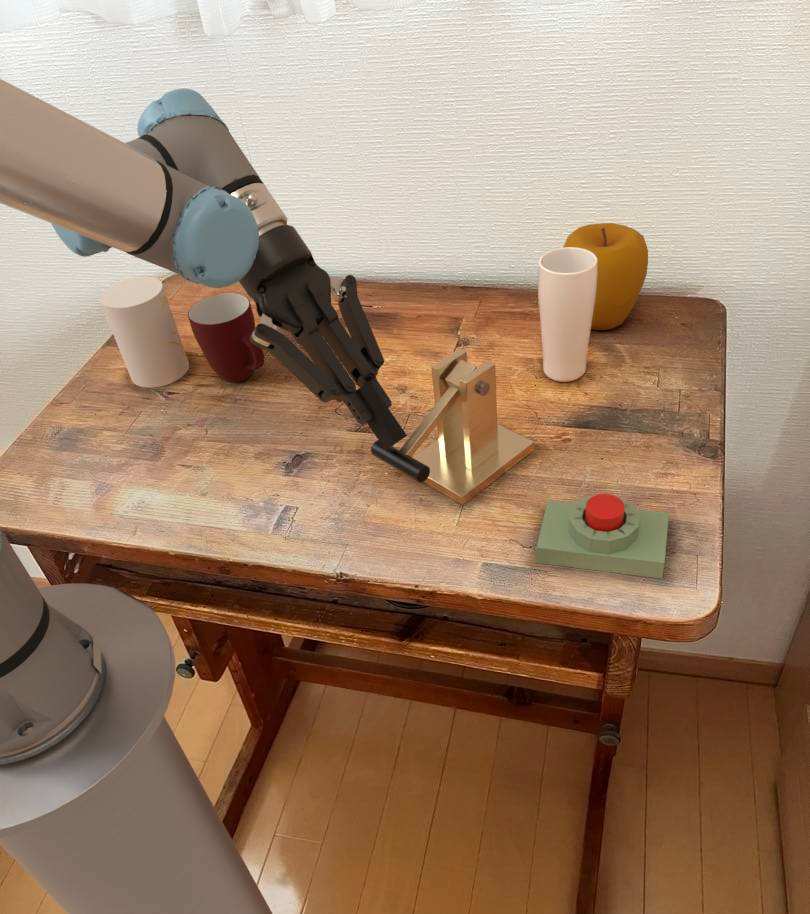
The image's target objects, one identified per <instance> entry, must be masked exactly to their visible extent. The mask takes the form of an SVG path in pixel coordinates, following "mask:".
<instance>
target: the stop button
mask: <svg viewBox="0 0 810 914" xmlns="http://www.w3.org/2000/svg"><path fill="white" fill-rule="evenodd" d="M597 494H598V495H596V494H594V495H595V496H593V497H591V498H590V499H589V500H588V501H587V503H586V514H585V520H586V523H587V525H588V526H589V527H590V528H592V529H594V530H596V531H604V532H610V531H614V530H617V529H618V528H620V527H621V525H622V524H623V519H624V510H625V505H624V503H623V501H622V500H621V499H620V498H618V497H617V496H618V495H617V496H614V495H615V494H610V493H597Z"/></svg>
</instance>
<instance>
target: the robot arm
mask: <svg viewBox="0 0 810 914" xmlns="http://www.w3.org/2000/svg"><path fill="white" fill-rule="evenodd" d="M136 129H137V131H136V132H137V135H138V137H137V138H135V139H132V140H129V141H127V142H124V141H122V140H121V139H118V138H115V137H114V136H112V135H111V134H108V133H107V132H105V131H102V130H101V129H98V128H96V127H95V126H93V125H91V124H89V123H87V122H85V121H83V120H82V119H80V118H77V117H76V116H73V115H71V114H70V113H67V112H66V111H64V110H62V109H60V108H58V107H56V106H54V105H52V104H50V103H48V102H46V101H44V100H43V99H42V98H41V99H40V98H39V97H36V96H35V95H33V94H31V93H29V92H27V91H25V90H23V89H22V88H19V87H17V86H15V85H14V84H11V83H10V82H8V81H6V80H5V79H2V78H0V204H1V205H4V206H7V207H9V208H11V209H15V210H17V211H18V212H19V211H20V212H21V213H24V214H27V215H29V216H31V217H32V216H33V217H34V218H37V219H39V220H41V221H45V222H47V223H50V224H51V226H52V228H53V229H54V231H55V233H56V235H57V236H58V237H59V239H60V240H61V241H62V242H63V244H64V245H65V246H66V247H67V248H68V249H69V250H70V251H71V252H72V253H74V255H75V254H76V255H77V256H80V257H82V258H83V257H84V258H86V257H92V256H94V255H96V254H99V253H107V252H109V250H110V249H112V248H114V249H116V250H118V251H121V252H124V253H126V254H128V255H130V256H131V257H134V258H137V259H140V260H143V261H145V262H147V263H150V264H152V265H155V266H157V267H160V268H162V269H165V270H167V271H170V272H172V273H175V274H177V275H179V276H181V277H182V278H183V279H184V280H186V281H188V282H189V283H190V282H191V283H194V284H197V285H199V284H200V285H202V286H204V287H208V288H212V289H223V288H227V287H230V286H233V285H234V284H236V283H237V282H239V284H240V285H241V286H242V288H243V290H244V291H245V292H246V294H247V295H248V296H249V298H251V299H252V300H253V302H254V303H255V307H256V308H255V309H256V314H257V315H258V316H259V320H258V322H257V325H255V330H254V331H253V333H252V335H251V336H250V341H251V343H252V344H254V345H256V346H258V347H260V348H262V350H264V351H266V352H268V353H270V354H271V356H272V357H274V358H275V359H276V360H277V361H278V362H279V363H280V364H281V365H282V366H283V367H284V368H285V369H287V370H288V371H289V372H290V373H291V374H292V375H293V376H294V377H295V378H296V379H297V380H298V381H299V382H301V384H302V385H303V386H304V387H305V388H307V389H308V390H309V392H311V393H312V394H313V395H314V396H315V397H316V398H317V399H318V400H319V401H320V402H322V403H324V404H328V403H329V402H331V401H336V402H337V403H344V405H345V406H346V408H347V409H348V411H349V412H350V413H351V415H352V416H353V417H354V419H355V420H356V422H357V423H358V424H359V425H361V427H363V426H364V425H365V424H367V426H368V427H369V429H370V430H371V432H372V433H373V434H374V436H375V437H376V439H377V440H379V442H380V443H381V444H382V446H383V447H384V449H385V450H387V449H389V448H390V447H391V446H393V447H394V445H396V444H397V443H398V442H400V441H402V440H403V439H404V438H406V437H407V436H408V435H407V433H406V432H405V430H404V429H403V427H402V426H401V424H400V422H399V421H398V420H397V419H396V417H395V415H394V414H393V413H392V412H391V410H390V408H391V407H392V406H393V403H392V400H391V398H390V397H389V396H388V394H387V392H386V391H385V390H384V388H383V387H382V385H381V384H380V382H379V381H378V379H377V376H378V373H379V371H380V369H381V368H382V366H383V365H384V364H385V358H384V355H383V353H382V351H381V349H380V346H379V344H378V342H377V340H376V337H375V334H374V332H373V330H372V327H371V325H370V322H369V320H368V318H367V316H366V313H365V311H364V308H363V306H362V304H361V303H362V302H361V301H360V299H359V296H358V295H359V294H358V282H357V278H356V277H355V276H354V275H352V274H348V275H346V276H345V277H344V278H339V277H332V276H330V274H329V273H328V272H327V271H326V270H325V269H323V268H322V267H321V266H319V264H317V263H316V262H315V259H314V256H313V253H312V251H311V250H310V249H309V247H308V246H307V243H305V241H304V239H303V238H302V237H301V236H300V234H299V232H298V231H297V229H296V228H295V227H294V226H293V225H290V224H288V217H287V215H285V212H284V211H283V209H282V208H281V207H280V205H279V204H278V202H277V201H276V200H275V198H274V197H273V195H272V194H271V192H270V191H269V189H268V187H267V186H266V185H265V184H264V182H263V180H262V179H261V178H260V175H259V174H258V173H257V171H256V169H255V168H254V167H253V165H252V164H251V162H250V161H249V159H248V158H247V156H246V155H245V153H244V151H243V150H242V149H241V147H240V146H239V145H238V143H237V141H236V140H235V138H234V136H233V135H232V134H231V132H230V129H229V127H228V126H227V125H226V122H225V121H224V120H222V119H221V117H220V116H219V115H218V113H217V112H216V111H215V110H214V108H213V106H212V105H211V104H210V103H209V102H208V101H207V99H206V98H205V97H204V96H202V95H201V93H200V92H198V91H196V90H194V89H191V88H184V87H183V88H176V89H173V90H169V91H168V92H165V93H164V94H162V96H161V97H160V98H159V99H157V100H153V101H152V102H150V103H149V105H148V106H146V108H145V109H144V110H143V112H142V113H141V114H140V117H139V119H138V122H137V126H136ZM332 297H333V301H334V302H336V303H338V308H339V312H340V314H341V317H342V320H343V321H344V323H345V326H346V328H345V327H344V325H343V324H342V322H341V321H340V320H339V314H338V312H337V311H336V309H335V307H334V306H333V305H332ZM279 329H282V330H284V331H286V332H289V333H290V335H291V336H292V337H293V339H294V340H295V341H296V343H297V345H299V346H301V347H302V348H303V349H304V351H305V352H306V354H307V355H308V356H309V357H308V356H307V355H306V354H305V353H303V351H302V350H301V349H300V348H299V347H297V346H296V344H295V343H293V342H292V341H291V340H290V339H289V338H288V337H287V336H286V335H285V334H283V333H281V332H280V331H279ZM357 387H358V389H357ZM38 588H39V587H37V585H36V583H35V582H34V580H33V578H32V577H31V575H30V574H29V571H28V570H27V568H26V567H25V566H24V564H23V562H22V560H21V559H20V557H19V556H18V554H17V553H16V551H15V549H14V548H13V546H12V544H11V543H10V541H9V540H8V538H7V537H6V535H5V533H4V532H3V530H2V528H0V765H3V764H9V763H14V762H17V761H21V760H24V759H27V758H29V757H32V756H34V755H36V754H39V753H41V752H43V751H45V750H46V749H48V748H50V747H52V746H53V745H55V744H56V743H58V742H59V741H61V740H62V739H63V738H65V737H66V736H67V735H68V734H70V733H71V732H72V731H73V730H74V729H75V728H76V727H77V726H78V725H79V724H80V723H81V722H82V721H83V720H84V719H85V717H86V716H87V715H88V714H89V712H90V711H91V709H92V708H93V706H94V705H95V703H96V701H97V699H98V697H99V695H100V693H101V690H102V687H103V683H104V678H105V663H104V659H103V656H102V653H101V644H100V643H99V642H98V641H97V640H96V639H95V638H94V636H93V638H92V636H91V635H90V634H89V633H88V632H87V631H86V630H85V629H84V628H82V627H81V626H80V625H78V624H77V623H75V622H74V621H72V620H71V619H69V618H68V617H66V616H65V615H63V614H62V613H60V612H59V611H57V610H56V609H54V608H53V607H51V606H50V605H49V604H47V603H46V601H45V600H44V598H43V596H42V595H41V593H40V591H39V590H38Z"/></svg>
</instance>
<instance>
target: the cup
mask: <svg viewBox="0 0 810 914" xmlns="http://www.w3.org/2000/svg"><path fill="white" fill-rule="evenodd" d="M99 302H100V305H101V307H102V310H103V312H104V314H105V317H106V320H107V322H108V325H109V327H110V329H111V332H112V335H113V337H114V339H115V342H116V344H117V347H118V350H119V352H120V354H121V357H122V359H123V361H124V364H125V367H126V369H127V372H128V375H129V378H130V379H131V382H132V383H133V384H134V385H136V386H138V387H141V388H146V389H150V388H151V389H153V388H154V389H155V388H160V387H164V386H167V385H171V384H173V383H175V382H176V381H178V380H180V379H181V378H183V377H184V376H185V375H186V374H187V372H188V371H189V369H190V362H189V359H188V356H187V353H186V350H185V348H184V347H185V346H184V344H183V341H182V338H181V336H180V332H179V330H178V329H179V328H178V327H177V323H176V321H175V317H174V314H173V311H172V309H171V305H170V302H169V299H168V297H167V294H166V291H165V287H164V284H163V283H162V281H161V280H160V279H158V278H156V277H153V276H135V277H130V278H126V279H123V280H120V281H117V282H115V283H113V284H111V285H110V286H108V287H106V288H105V289H104V290H103V291H102V292H101V294H100V295H99Z"/></svg>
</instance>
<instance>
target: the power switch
mask: <svg viewBox="0 0 810 914" xmlns="http://www.w3.org/2000/svg"><path fill="white" fill-rule="evenodd" d="M460 360H463V361H465V362H468V351H467V350H465V349H463V348H458V349H457V350H455V351H453V352H452V353H450V354H449V355H447V356H445V357H444V358H443V359H441V360H439V361H438V362H436V363H435V364H433V365H431V366H430V367H431V377H432V387H433V388H432V389H433V396H434V397H433V399H434V406H435V405H436V403H437V402H438V401H439V400H440V398H441V397H442V396H443V395H444V393H445V392H446V391H447V390H448V388H449V386H448V384H447V382H446V381H445V379H446V377H447V376H448V375H449V374H450V372H451V371H452V370H453V369H454V367H455V366H456V365H457V364H458V362H459V361H460ZM496 374H497V373H496V363H495V362H492V361H490V360H486V361H485V362H484V363H482V364H480V365H479V366H478V367H477V368H476V369H475V370H474V371H472V372H471V373H469V374H468V375H466V376H465V377H463V378H462V379H460V393H461V396H460V397H459V398H458V399H457V400H456V402H455V403H454V404H453V405H452V407H451V408H450V409H449V411H448V412H447V413H446V414H445V416H444V417H443V418H442V419H441V421H440V422H439V423H438V424H437V426H436V428H437V439H436V440H435V441H433V442H431V443H430V444H429V445H427V446H426V447H424V448H423V449H422V450H421V451H419V452H418V453H415V454H414V455H413V456H412V458H414V459H416V460H417V461H419V462H421V463H423V464H425V465H426V466H428V467H429V468H430V474H429V476H428V478H427V479H426V480H425V481H424V482H422V483H423V484H425V485H427V486H429V487H430V488H432V489H434V490H436V491H437V492H438V493H440V494H441V495H442V494H443V495H444V496H446V497H447V498H448V499H451V500H453V501H454V502H456V503H458V504H460V505H461V506H464V505H465V504H466V503H468V502H469V501H470V500H472V499H473V498H475V496H477V495H478V494H479V493H481V492H482V491H483V490H484V489H486V488H487V487H488V486H490V485H491V484H493V482H495V481H496V480H497V479H499V478H500V477H501V476H503V475H504V474H505V473H506V472H508V471H510V470H511V469H512V468H513V467H515V466H516V465H517V464H518V463H520V462H521V461H523V460H524V459H525V458H526V457H527V456H529V455H530V454H531V453H533V452H534V451H535V441H534V440H532V439H530V438H528V437H527V436H523V435H521V434H519V433H517V432H515V431H513V430H511V429H510V428H508V427H505V426H503V425H501V424H499V423H498V403H497V401H498V400H497V375H496Z"/></svg>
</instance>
